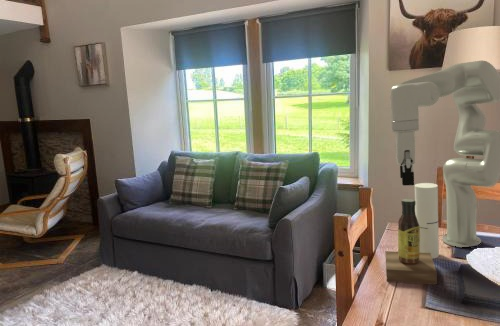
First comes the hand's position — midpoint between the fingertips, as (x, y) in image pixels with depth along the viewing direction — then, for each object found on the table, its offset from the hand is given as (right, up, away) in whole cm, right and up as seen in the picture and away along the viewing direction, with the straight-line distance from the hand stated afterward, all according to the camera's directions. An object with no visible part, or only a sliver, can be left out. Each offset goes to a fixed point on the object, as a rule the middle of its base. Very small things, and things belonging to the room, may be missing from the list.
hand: (406, 181), depth 115 cm
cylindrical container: (+14, -27, +16) cm, 34 cm away
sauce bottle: (+2, -26, +4) cm, 26 cm away
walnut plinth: (+3, -30, +5) cm, 30 cm away
